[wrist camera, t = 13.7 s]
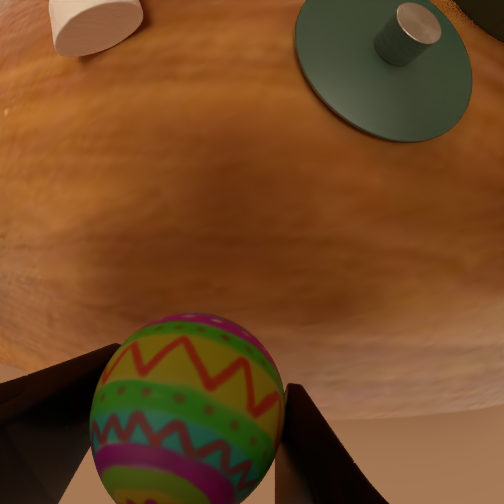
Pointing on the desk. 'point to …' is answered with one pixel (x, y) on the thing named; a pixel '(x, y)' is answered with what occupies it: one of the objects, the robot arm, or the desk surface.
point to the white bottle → (92, 24)
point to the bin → (486, 15)
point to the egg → (187, 413)
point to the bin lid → (385, 65)
